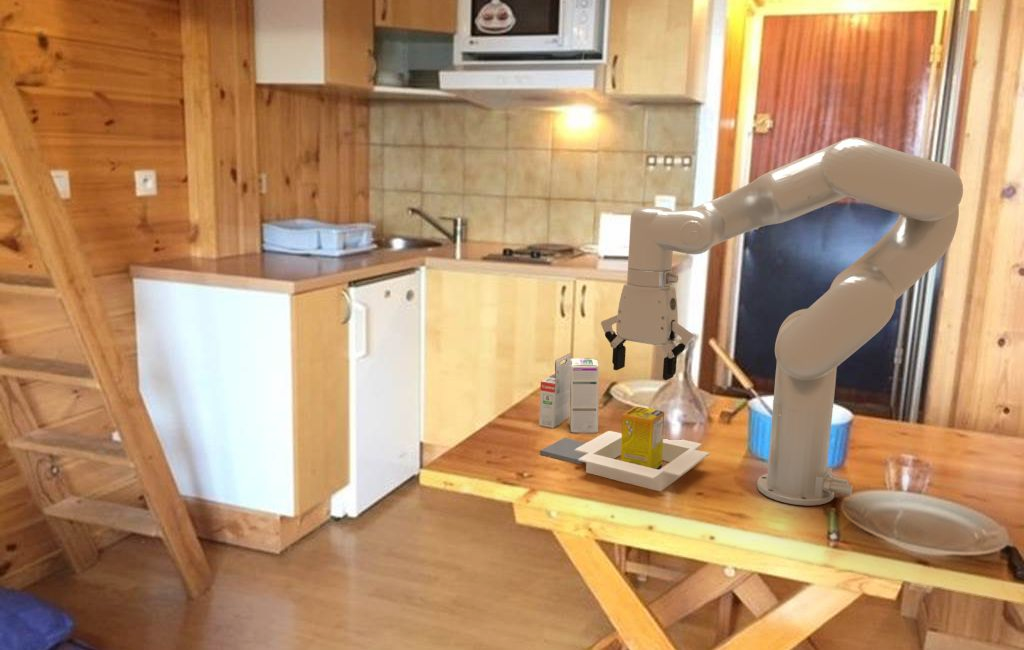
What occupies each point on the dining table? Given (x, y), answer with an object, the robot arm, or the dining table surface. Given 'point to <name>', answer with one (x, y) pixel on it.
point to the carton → (605, 465)
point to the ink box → (556, 395)
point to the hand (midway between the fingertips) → (643, 373)
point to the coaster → (564, 450)
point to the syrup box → (584, 395)
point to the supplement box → (642, 437)
